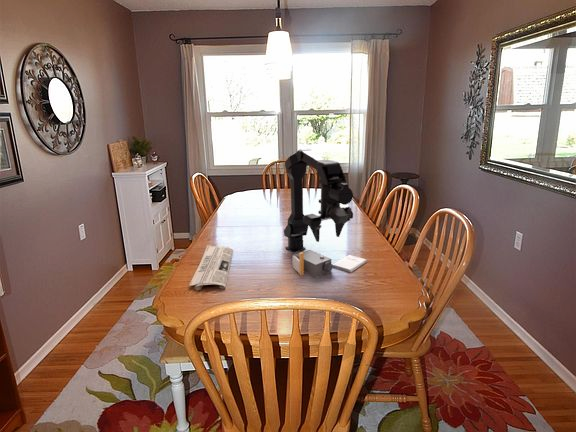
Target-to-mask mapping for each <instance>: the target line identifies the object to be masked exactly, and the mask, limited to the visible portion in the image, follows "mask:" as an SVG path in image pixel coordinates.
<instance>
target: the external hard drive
mask: <svg viewBox="0 0 576 432" xmlns="http://www.w3.org/2000/svg"><path fill="white" fill-rule="evenodd" d="M366 263H367V259H366V258H363V257H359V256H355V255H351V254H349V255H346V256H345V257H342V258H341V259H340V260H338V261H336V262H335V263H333V264H332V268H335V269H337V270H341V271H345V272H347V273H353V272H354V271H355V270H356V269H358V268H359V267H361V266H363V265H364V264H366Z"/></svg>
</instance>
